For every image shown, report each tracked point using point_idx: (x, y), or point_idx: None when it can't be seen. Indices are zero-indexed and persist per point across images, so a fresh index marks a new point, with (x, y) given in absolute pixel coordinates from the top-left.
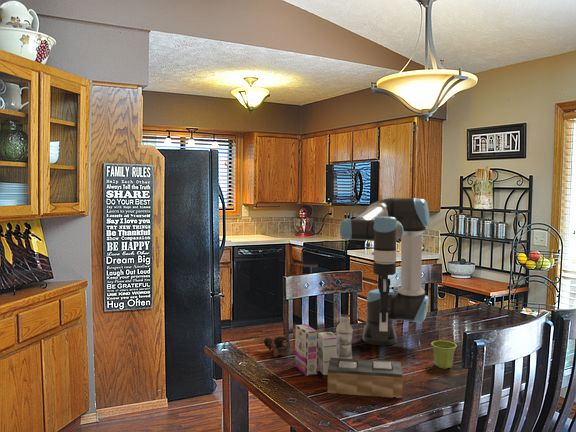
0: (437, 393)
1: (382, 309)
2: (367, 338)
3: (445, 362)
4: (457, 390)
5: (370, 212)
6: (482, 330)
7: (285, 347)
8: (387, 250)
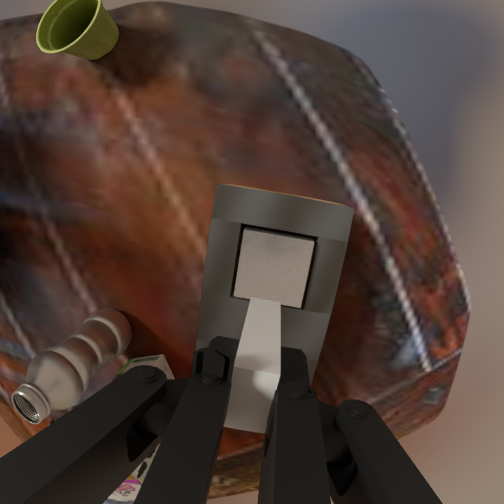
0: (301, 88)
1: (353, 459)
2: None
3: (112, 29)
4: (276, 31)
5: None
6: None
7: None
8: None
